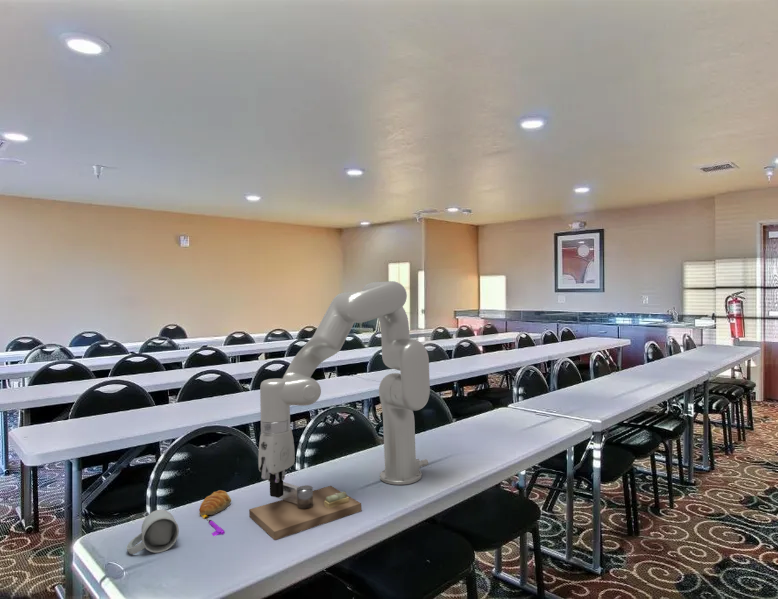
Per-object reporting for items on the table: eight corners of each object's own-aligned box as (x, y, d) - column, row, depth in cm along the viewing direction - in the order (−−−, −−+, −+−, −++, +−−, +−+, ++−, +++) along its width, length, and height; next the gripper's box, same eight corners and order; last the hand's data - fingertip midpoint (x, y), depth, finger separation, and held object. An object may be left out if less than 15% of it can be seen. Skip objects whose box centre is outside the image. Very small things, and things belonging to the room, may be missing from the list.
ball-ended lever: (316, 504, 134) (315, 487, 134) (305, 509, 131) (304, 492, 130) (281, 493, 142) (281, 477, 142) (270, 498, 139) (269, 481, 139)
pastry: (216, 518, 133) (215, 503, 133) (192, 517, 134) (191, 502, 134) (233, 503, 142) (232, 489, 142) (210, 502, 143) (209, 488, 143)
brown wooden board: (330, 492, 147) (330, 475, 147) (361, 510, 134) (360, 492, 134) (249, 517, 133) (248, 498, 133) (274, 540, 120) (273, 519, 120)
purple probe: (226, 534, 124) (203, 513, 137) (224, 529, 124) (202, 509, 137) (215, 540, 123) (193, 519, 135) (214, 536, 122) (192, 515, 135)
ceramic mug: (174, 533, 125) (172, 502, 125) (180, 547, 118) (177, 514, 118) (126, 546, 120) (123, 514, 120) (128, 562, 113) (126, 527, 113)
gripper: (268, 434, 127) (270, 509, 127) (303, 421, 141) (304, 488, 141) (245, 431, 130) (246, 504, 131) (281, 418, 144) (282, 484, 144)
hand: (276, 495), depth 136 cm, fingers closed
